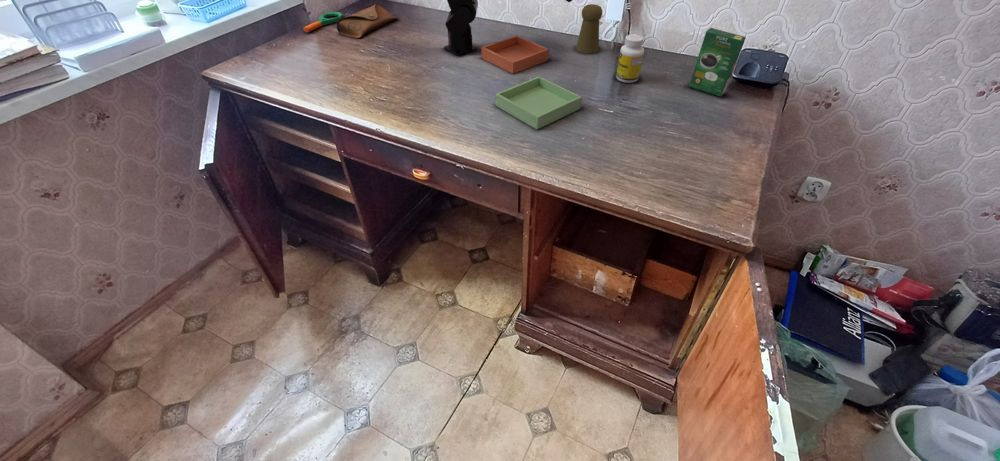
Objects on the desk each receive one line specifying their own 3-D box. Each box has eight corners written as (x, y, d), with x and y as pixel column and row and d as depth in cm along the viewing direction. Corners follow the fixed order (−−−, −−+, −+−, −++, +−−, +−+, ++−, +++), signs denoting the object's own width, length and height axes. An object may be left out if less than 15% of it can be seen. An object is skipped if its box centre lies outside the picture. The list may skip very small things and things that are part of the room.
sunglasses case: (360, 37, 130) (346, 14, 127) (346, 46, 134) (332, 24, 131) (399, 17, 141) (387, -5, 139) (385, 26, 146) (373, 5, 143)
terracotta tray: (481, 58, 121) (481, 47, 119) (516, 45, 127) (516, 35, 125) (512, 73, 114) (513, 62, 112) (548, 60, 120) (549, 49, 118)
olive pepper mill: (572, 50, 124) (577, 7, 117) (580, 43, 128) (585, 0, 120) (594, 55, 122) (600, 11, 114) (601, 47, 126) (608, 4, 118)
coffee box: (726, 93, 107) (747, 35, 98) (722, 98, 105) (742, 39, 96) (692, 83, 110) (709, 26, 101) (687, 87, 109) (704, 30, 100)
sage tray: (495, 105, 103) (495, 93, 101) (538, 87, 109) (539, 76, 107) (537, 129, 95) (537, 117, 94) (580, 108, 102) (582, 96, 100)
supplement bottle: (611, 75, 114) (618, 34, 107) (631, 72, 115) (639, 31, 108) (622, 85, 110) (630, 43, 103) (642, 81, 111) (651, 40, 104)
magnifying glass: (330, 14, 144) (329, 9, 143) (347, 17, 143) (345, 11, 142) (298, 32, 134) (296, 25, 133) (315, 34, 133) (314, 28, 131)
